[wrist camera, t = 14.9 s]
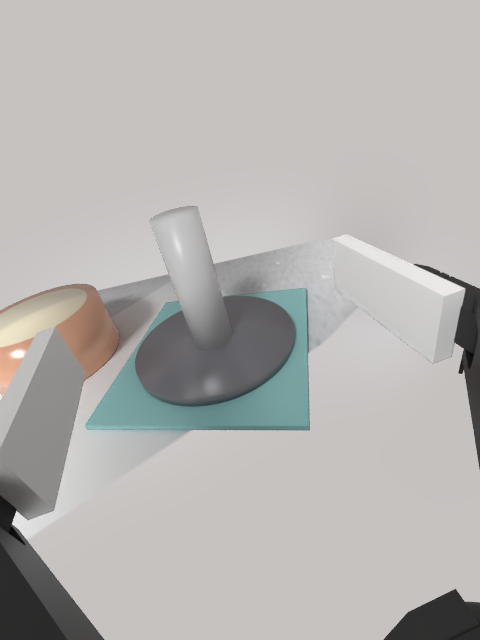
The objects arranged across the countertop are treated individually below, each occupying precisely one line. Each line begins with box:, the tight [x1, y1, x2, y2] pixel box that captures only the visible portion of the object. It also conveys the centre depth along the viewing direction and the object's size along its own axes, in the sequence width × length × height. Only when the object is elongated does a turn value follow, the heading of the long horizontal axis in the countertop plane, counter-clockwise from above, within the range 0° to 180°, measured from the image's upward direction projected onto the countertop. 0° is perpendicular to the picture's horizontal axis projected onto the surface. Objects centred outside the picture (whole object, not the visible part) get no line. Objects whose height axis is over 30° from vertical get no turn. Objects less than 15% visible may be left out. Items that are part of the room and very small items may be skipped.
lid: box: [135, 206, 295, 407], centre depth 23 cm, size 13×13×11 cm
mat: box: [85, 288, 310, 430], centre depth 26 cm, size 15×16×1 cm
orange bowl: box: [0, 284, 120, 397], centre depth 29 cm, size 11×11×5 cm
